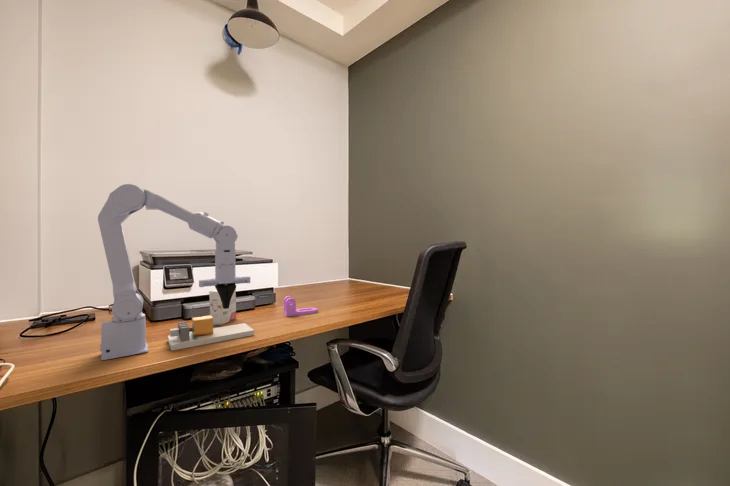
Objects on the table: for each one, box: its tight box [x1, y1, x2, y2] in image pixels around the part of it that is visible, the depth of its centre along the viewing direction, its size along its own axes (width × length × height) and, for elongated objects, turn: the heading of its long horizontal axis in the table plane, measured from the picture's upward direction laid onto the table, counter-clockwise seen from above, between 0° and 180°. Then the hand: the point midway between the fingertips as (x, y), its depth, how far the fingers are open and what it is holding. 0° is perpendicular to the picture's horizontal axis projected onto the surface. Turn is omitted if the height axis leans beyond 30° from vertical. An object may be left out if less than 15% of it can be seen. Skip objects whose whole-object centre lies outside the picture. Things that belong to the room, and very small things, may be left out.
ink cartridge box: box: [208, 282, 237, 325], centre depth 112 cm, size 9×5×15 cm, turn 168°
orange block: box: [191, 314, 213, 337], centre depth 92 cm, size 5×4×5 cm
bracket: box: [283, 295, 319, 317], centre depth 124 cm, size 13×6×7 cm, turn 114°
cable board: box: [167, 320, 255, 352], centre depth 94 cm, size 22×10×5 cm, turn 127°
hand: (225, 308), depth 96 cm, fingers closed
